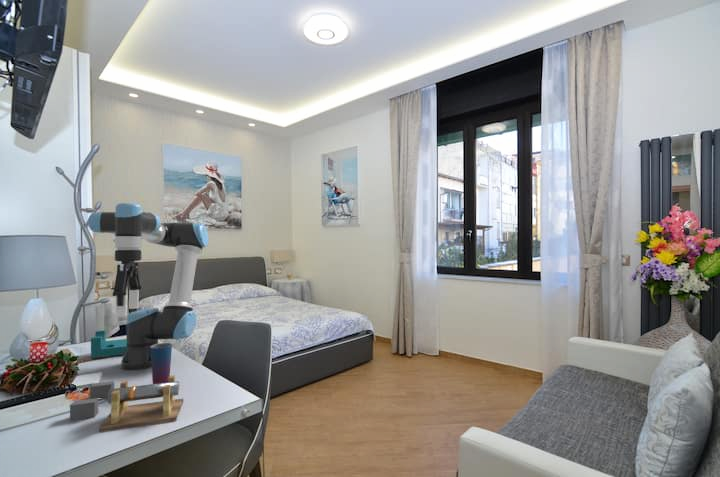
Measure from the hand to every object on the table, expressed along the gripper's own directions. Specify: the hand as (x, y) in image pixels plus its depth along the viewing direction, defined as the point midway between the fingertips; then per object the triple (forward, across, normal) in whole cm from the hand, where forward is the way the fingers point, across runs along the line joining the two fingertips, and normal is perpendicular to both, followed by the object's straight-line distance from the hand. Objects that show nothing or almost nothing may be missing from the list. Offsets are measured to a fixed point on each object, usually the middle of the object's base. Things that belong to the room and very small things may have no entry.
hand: (127, 312), depth 118 cm
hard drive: (+29, -20, -19) cm, 40 cm away
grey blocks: (+29, +4, -8) cm, 30 cm away
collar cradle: (+29, +16, +9) cm, 34 cm away
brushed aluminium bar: (+24, +16, +9) cm, 30 cm away
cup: (+29, -6, +9) cm, 31 cm away
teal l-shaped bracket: (+29, -56, -19) cm, 66 cm away
